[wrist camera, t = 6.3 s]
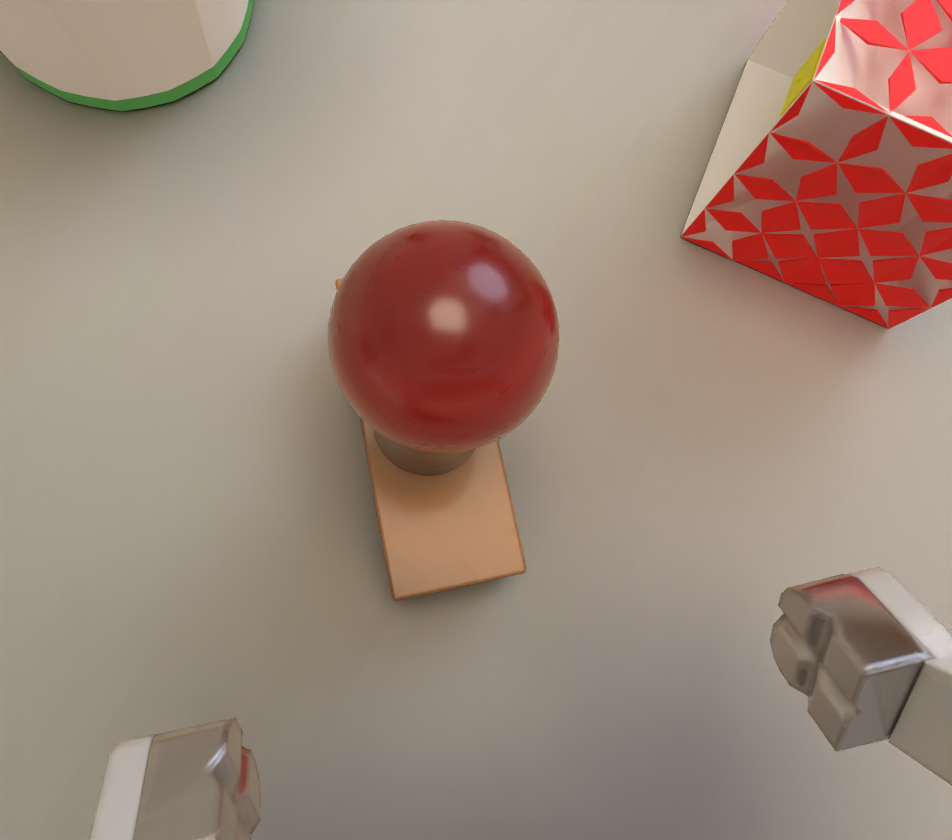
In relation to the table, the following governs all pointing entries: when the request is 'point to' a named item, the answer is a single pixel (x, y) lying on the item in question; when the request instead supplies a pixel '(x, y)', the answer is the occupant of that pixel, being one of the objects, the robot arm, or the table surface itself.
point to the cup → (122, 47)
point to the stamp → (443, 393)
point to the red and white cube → (841, 157)
